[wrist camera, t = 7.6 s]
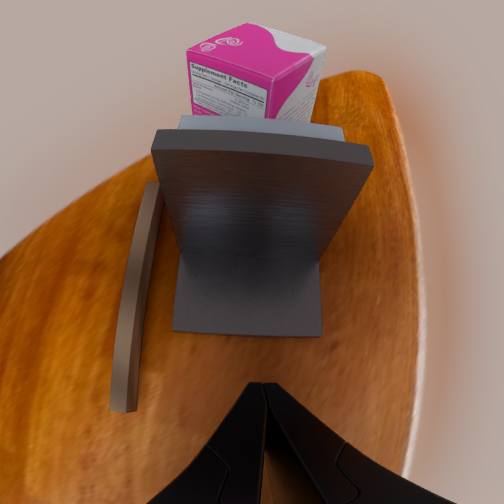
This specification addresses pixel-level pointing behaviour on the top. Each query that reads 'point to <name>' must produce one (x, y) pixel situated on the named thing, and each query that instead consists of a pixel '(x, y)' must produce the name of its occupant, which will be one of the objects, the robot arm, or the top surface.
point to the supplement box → (255, 74)
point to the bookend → (254, 225)
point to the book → (261, 126)
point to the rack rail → (135, 302)
